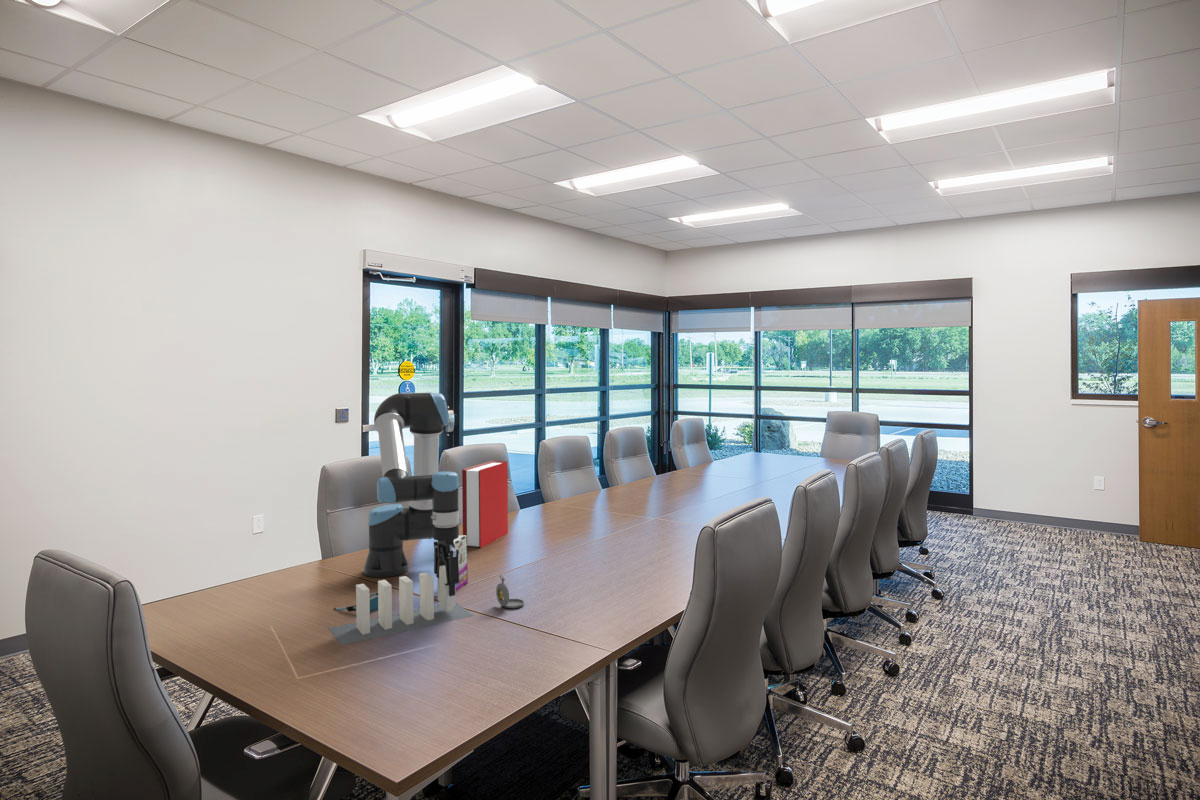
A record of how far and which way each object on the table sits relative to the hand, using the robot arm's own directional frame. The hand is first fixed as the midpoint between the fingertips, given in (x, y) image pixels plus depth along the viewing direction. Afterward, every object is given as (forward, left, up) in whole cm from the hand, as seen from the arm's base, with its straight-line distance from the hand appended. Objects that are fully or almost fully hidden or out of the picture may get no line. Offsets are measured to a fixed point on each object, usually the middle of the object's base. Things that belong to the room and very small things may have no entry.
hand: (446, 602), depth 195 cm
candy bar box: (-21, +11, -4) cm, 24 cm away
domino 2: (0, -18, -3) cm, 18 cm away
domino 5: (0, 0, -1) cm, 1 cm away
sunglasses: (-21, -18, -4) cm, 28 cm away
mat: (0, -13, -3) cm, 13 cm away
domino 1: (0, -24, -3) cm, 24 cm away
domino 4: (0, -6, -3) cm, 7 cm away
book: (-73, +47, -4) cm, 87 cm away
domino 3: (0, -12, -3) cm, 12 cm away
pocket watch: (+5, +18, -4) cm, 19 cm away
